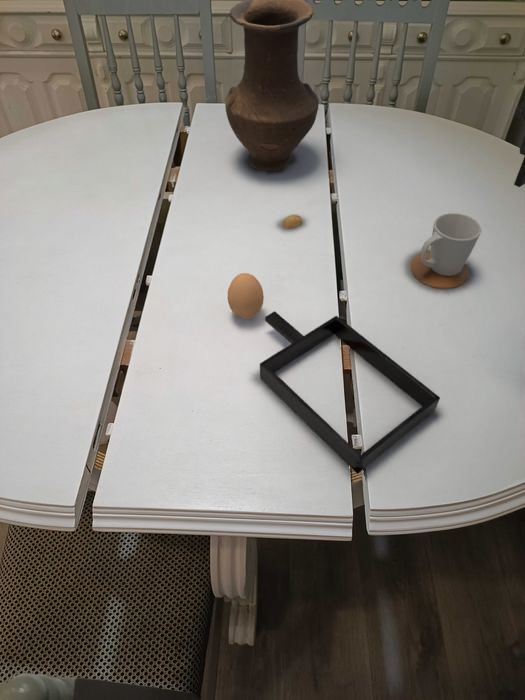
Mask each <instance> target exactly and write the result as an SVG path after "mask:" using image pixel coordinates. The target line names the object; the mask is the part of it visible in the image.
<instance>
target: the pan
mask: <svg viewBox="0 0 525 700" xmlns="http://www.w3.org/2000/svg"><path fill="white" fill-rule="evenodd" d="M264 318H265V319H264V321H265V323H267V324H268V325H269V326H271V327H272V328H273V329H274V330H275V331H276V332H277V333H278V334H279V335H280V336H281V337H283V338H284V339H285V340H286V341H287V342H288V343H289V345H287V346H285V347H283V348H282V349H281V350H279V351H277V352H276V353H274V354H272V355H271V356H269V357H268V358H266V359H265V360H263V361H262V362H260V363H259V379H260V380H261V381H262V382H263V383H264V384H265V385H266V386H267V387H268V388H269V389H270V390H271V391H272V392H273V393H275V394H276V395H277V396H278V398H279V399H281V401H282V402H284V403H285V404H286V405H287V406H288V407H289V408H290V409H291V410H292V411H293V412H294V413H295V414H296V415H297V416H298V417H299V418H300V419H301V420H302V421H303V422H304V423H305V424H306V425H307V426H308V427H309V428H310V429H311V430H312V431H313V432H314V433H315V434H316V435H317V436H318V437H319V438H320V439H321V440H322V441H323V442H324V443H325V444H326V445H328V447H329V448H330V449H331V450H332V451H333V452H335V453H336V454H337V456H339V457H340V459H342V461H344V463H346V464H347V466H349V467H350V468H351V469H352V470H353V471H354V473H356V474H359V473H362V471H363V470H364V469H366V468H367V467H368V466H370V465H371V464H372V463H373V462H374V461H376V460H377V459H378V458H380V457H381V456H382V455H383V454H385V453H386V452H387V451H388V450H390V448H392V447H393V446H395V445H396V444H397V443H398V442H400V440H401V439H403V438H404V437H406V436H407V435H408V434H409V433H410V432H412V431H413V430H414V429H415V428H417V427H418V426H419V425H420V424H422V423H423V422H424V421H425V420H427V419H428V418H429V417H430V416H432V415H433V414H434V413H435V411H436V409H437V406H438V404H439V402H440V399H441V397H440V396H439V395H438V394H436V393H435V392H434V391H433V390H431V389H430V388H429V387H428V386H426V385H425V384H424V383H423V382H421V381H420V380H419V379H417V378H416V377H415V376H414V375H413V374H412V373H410V372H408V370H406V369H405V368H403V367H402V366H401V365H400V364H399V363H398V362H396V361H395V360H393V359H392V358H391V357H390V356H388V355H387V354H386V353H385V352H384V351H382V350H381V349H380V348H378V347H377V346H376V345H375V344H373V343H372V342H371V341H369V340H368V339H367V338H366V337H364V336H363V335H362V334H361V333H359V331H357V330H356V329H354V328H353V327H352V326H350V325H349V324H348V323H347V322H345V321H344V320H343V319H342V318H341V317H339V316H338V315H335V316H333V317H332V318H330V319H328V320H327V321H325V322H324V323H322V324H320V325H319V326H317V327H316V328H314V329H313V330H311V331H309V332H308V333H306V334H304V335H303V334H302V333H301V332H300V331H299V330H297V329H296V328H295V327H294V326H293V325H292V324H290V322H288V321H287V320H286V319H284V318H283V316H281V315H280V314H279V313H278V312H277V311H272V312H271V313H269V314H267V315H265V317H264ZM333 336H336V337H337V338H338V339H339V340H341V341H342V342H343V343H344V344H346V345H347V346H348V347H349V348H350V349H352V350H353V351H354V352H355V353H356V354H358V355H359V356H360V357H361V358H363V360H365V361H366V362H368V364H370V365H371V366H372V367H373V368H375V369H376V370H377V371H378V372H380V373H381V374H382V375H383V376H384V377H386V378H387V379H388V380H389V381H390V382H392V383H393V384H394V385H395V386H397V387H398V388H399V389H400V390H402V391H403V392H404V393H405V394H406V395H408V396H409V397H410V398H411V399H412V400H414V401H415V402H416V403H418V404H419V405H420V406H421V407H420V408H418V409H416V410H415V412H413V413H412V414H411V415H409V416H408V417H407V418H406V419H404V420H403V421H402V422H401V423H399V424H398V425H397V426H396V427H394V428H392V430H390V431H388V433H387V434H385V435H384V436H383V437H382V438H380V439H379V440H377V442H375V443H374V444H373V445H371V446H370V447H369V448H368V449H366V450H365V451H364V452H363V453H359V452H358V451H357V450H356V449H355V448H354V447H353V446H352V445H351V444H350V443H349V442H348V441H347V440H346V439H345V438H344V437H342V435H341V434H339V433H338V432H337V431H336V430H335V429H334V428H333V427H332V426H331V425H330V424H329V423H328V422H327V421H326V420H325V419H324V418H323V417H321V415H320V414H318V412H317V411H315V410H314V409H313V408H312V407H311V406H310V405H309V404H308V403H307V402H306V401H305V400H304V399H303V398H301V397H300V395H299V394H298V393H297V392H295V390H294V389H292V388H291V387H290V386H289V384H287V383H286V382H285V381H284V380H283V379H282V378H281V377H280V376H278V374H277V372H279V371H281V369H283V368H285V367H286V366H288V365H289V364H291V363H292V362H294V361H295V360H297V359H299V358H300V357H302V356H303V355H305V354H306V353H307V352H310V351H311V350H312V349H314V348H316V347H317V346H319V345H320V344H322V343H324V342H325V341H326V340H328V339H329V338H332V337H333Z"/></svg>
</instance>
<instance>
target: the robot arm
mask: <svg viewBox="0 0 525 700" xmlns="http://www.w3.org/2000/svg"><path fill="white" fill-rule="evenodd" d="M514 114H515V117H516V118H518V119H522V120H523V121H524V122H525V99H524V100H523V101H522V102H521V103H520V104H519V105H518V106H517V107H516V109H515V111H514ZM519 154H520V155H523V156H524V157H523V160H522V161H521V165H520V168H519V170H518V172H517V175H516V178H515V180H514V182H513V185H514V186H515V187H518V188H520V187H522V186H525V135H524V136H523V138H522V141H521V145H520V146H519Z"/></svg>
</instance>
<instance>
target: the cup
mask: <svg viewBox="0 0 525 700" xmlns="http://www.w3.org/2000/svg"><path fill="white" fill-rule="evenodd" d="M432 227H433V228H432V235H431V236H430V237H429V238H427V240H425V242H423V245H422V246H421V250H420V253H421V254H420V253H419V254H420V258H421V261H422V262H423V263H424V264H425V265H426V266H428V267H431V269H432V270H433V271H435V272H436V273H438V274H441V275H446V276H452V275H456V274H458V273H459V272H460V271H461V270H462V268H463V266H464V265H465V264H466V263H467V261H468V260H469V257H470V256H471V255H472V252H473V250H474V248H475V246H476V244H477V242H478V240H479V238H480V236H481V234H482V226H481V225H480V223H479V222H478V220H476V219H475V218H473V217H472V216H469V215H467V214H464V213H458V212H447V213H444V214H441V215H439V216H438V217H437V218H436V219H435V220H434V222H433V226H432ZM429 248H430V250H429ZM427 251H430V259H429V260H426V259H425V255H426V252H427Z"/></svg>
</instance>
